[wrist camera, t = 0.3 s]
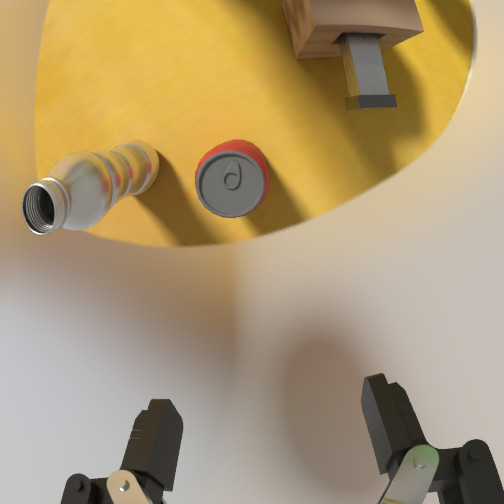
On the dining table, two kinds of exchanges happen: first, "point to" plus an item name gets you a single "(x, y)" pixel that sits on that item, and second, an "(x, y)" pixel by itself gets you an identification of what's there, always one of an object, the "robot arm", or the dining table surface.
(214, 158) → the beer can
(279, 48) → the dining table surface
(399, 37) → the brown wooden block
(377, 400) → the robot arm
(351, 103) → the shaft
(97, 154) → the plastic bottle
